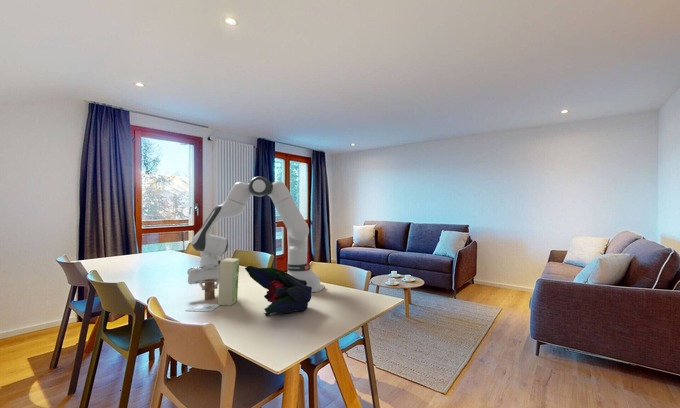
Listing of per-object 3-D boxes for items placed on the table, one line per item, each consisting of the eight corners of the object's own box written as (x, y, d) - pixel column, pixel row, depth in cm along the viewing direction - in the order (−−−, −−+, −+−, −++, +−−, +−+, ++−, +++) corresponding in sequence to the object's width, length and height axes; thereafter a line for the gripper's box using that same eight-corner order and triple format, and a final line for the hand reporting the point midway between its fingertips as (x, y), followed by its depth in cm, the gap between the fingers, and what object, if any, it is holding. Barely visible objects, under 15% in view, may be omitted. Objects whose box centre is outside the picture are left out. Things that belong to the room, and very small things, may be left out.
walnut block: (214, 296, 155) (214, 279, 155) (214, 298, 151) (214, 281, 151) (204, 297, 153) (204, 280, 153) (204, 300, 149) (204, 282, 149)
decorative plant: (303, 335, 130) (233, 327, 120) (296, 296, 153) (237, 286, 142) (320, 298, 125) (248, 286, 114) (310, 263, 148) (250, 250, 137)
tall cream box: (233, 305, 141) (234, 261, 141) (217, 305, 141) (219, 261, 141) (239, 300, 149) (240, 258, 149) (224, 299, 149) (226, 258, 149)
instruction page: (220, 305, 142) (220, 304, 142) (211, 311, 133) (211, 311, 133) (196, 304, 143) (196, 303, 143) (185, 310, 134) (185, 310, 134)
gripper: (187, 264, 154) (186, 288, 145) (229, 261, 163) (230, 283, 154) (187, 271, 158) (187, 294, 149) (228, 267, 167) (230, 289, 158)
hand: (209, 288), depth 152 cm, fingers closed on walnut block, 4 cm apart
